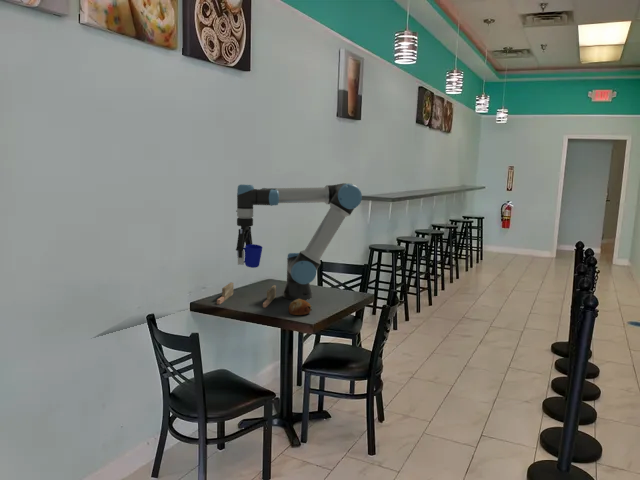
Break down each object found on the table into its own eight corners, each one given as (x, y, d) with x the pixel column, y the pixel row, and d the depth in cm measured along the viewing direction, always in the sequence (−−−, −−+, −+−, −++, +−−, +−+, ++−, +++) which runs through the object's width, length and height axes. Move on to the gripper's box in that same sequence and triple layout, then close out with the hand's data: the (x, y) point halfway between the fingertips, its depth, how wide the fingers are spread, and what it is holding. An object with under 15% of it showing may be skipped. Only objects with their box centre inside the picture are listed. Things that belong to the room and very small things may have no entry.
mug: (233, 263, 250) (235, 244, 248) (256, 263, 256) (259, 244, 254) (238, 269, 243) (240, 248, 241) (262, 268, 249) (264, 248, 246)
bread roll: (297, 317, 241) (290, 301, 242) (316, 308, 238) (308, 292, 239) (290, 322, 232) (282, 306, 232) (309, 313, 229) (301, 297, 229)
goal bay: (269, 304, 251) (269, 300, 251) (265, 307, 244) (266, 303, 244) (221, 300, 254) (221, 296, 254) (216, 304, 247) (216, 299, 247)
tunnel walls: (275, 297, 266) (276, 285, 265) (269, 303, 252) (270, 291, 251) (230, 293, 269) (230, 282, 268) (222, 300, 255) (222, 288, 254)
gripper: (244, 215, 256) (243, 257, 259) (229, 219, 231) (229, 266, 234) (258, 215, 255) (258, 258, 258) (246, 220, 231) (245, 267, 233)
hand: (244, 262), depth 246 cm, fingers open, 13 cm apart
